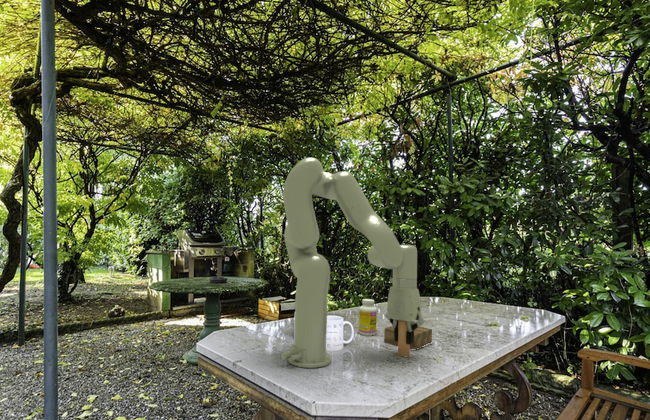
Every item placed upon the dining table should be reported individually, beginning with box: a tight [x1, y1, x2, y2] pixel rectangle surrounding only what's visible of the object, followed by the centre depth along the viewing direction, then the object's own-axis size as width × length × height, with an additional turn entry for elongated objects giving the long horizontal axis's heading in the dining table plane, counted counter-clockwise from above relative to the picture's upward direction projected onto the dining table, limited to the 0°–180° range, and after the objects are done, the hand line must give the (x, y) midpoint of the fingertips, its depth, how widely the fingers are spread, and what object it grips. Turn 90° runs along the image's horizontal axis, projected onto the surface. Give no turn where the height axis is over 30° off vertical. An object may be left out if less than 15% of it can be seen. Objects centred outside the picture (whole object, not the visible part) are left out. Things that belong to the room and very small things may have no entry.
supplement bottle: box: [358, 298, 378, 337], centre depth 140 cm, size 7×7×13 cm
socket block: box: [383, 325, 433, 349], centre depth 129 cm, size 12×12×5 cm
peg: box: [397, 320, 411, 357], centre depth 116 cm, size 4×4×12 cm
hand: (403, 341), depth 116 cm, fingers closed on peg, 3 cm apart
